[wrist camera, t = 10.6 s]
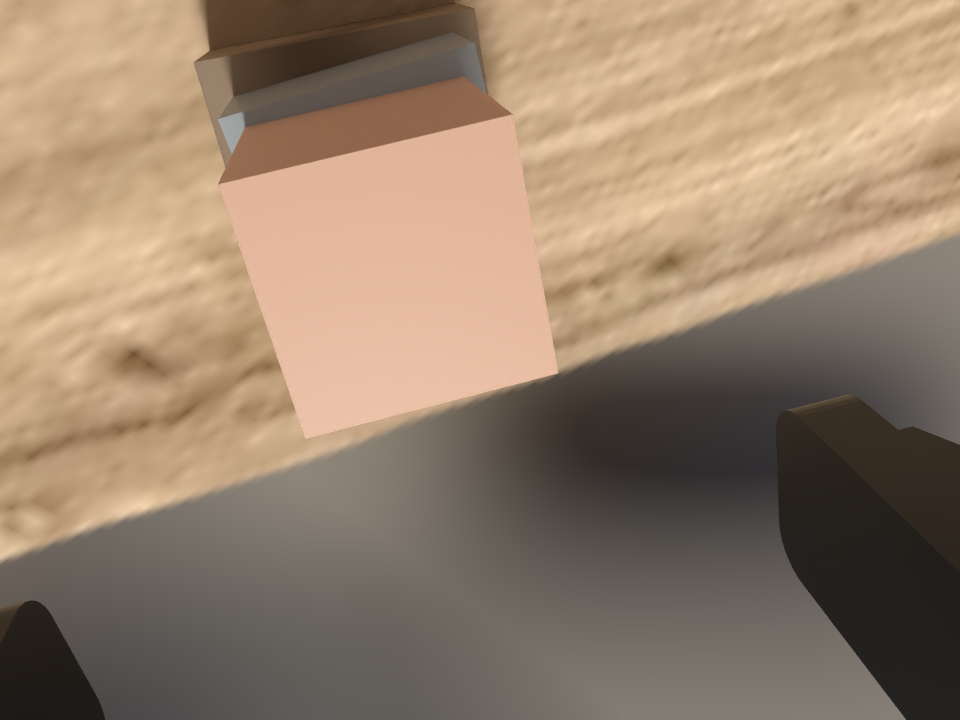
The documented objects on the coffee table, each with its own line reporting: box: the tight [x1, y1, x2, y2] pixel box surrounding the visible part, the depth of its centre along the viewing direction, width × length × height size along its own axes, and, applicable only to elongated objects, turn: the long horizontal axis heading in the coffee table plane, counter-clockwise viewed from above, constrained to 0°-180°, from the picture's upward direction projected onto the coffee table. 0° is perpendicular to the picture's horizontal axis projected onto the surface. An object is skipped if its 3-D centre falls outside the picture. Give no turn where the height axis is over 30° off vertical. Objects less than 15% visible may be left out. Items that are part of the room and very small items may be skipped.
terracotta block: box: [218, 76, 558, 439], centre depth 19 cm, size 6×6×6 cm
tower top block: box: [218, 32, 487, 154], centre depth 24 cm, size 6×6×4 cm
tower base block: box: [194, 4, 488, 167], centre depth 27 cm, size 8×8×4 cm
